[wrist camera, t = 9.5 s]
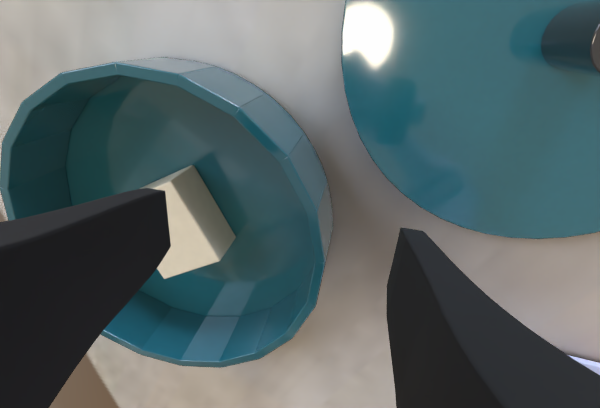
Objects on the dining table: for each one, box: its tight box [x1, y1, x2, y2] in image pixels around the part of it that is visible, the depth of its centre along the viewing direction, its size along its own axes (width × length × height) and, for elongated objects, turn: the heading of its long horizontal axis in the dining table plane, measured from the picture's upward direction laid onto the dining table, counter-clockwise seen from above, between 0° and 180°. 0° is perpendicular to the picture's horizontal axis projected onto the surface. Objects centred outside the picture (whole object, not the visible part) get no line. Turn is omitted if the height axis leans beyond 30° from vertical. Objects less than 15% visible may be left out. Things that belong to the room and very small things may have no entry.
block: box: [140, 165, 236, 279], centre depth 20 cm, size 4×5×3 cm
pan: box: [0, 57, 333, 368], centre depth 20 cm, size 17×17×4 cm
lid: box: [341, 0, 600, 239], centre depth 12 cm, size 18×18×5 cm
